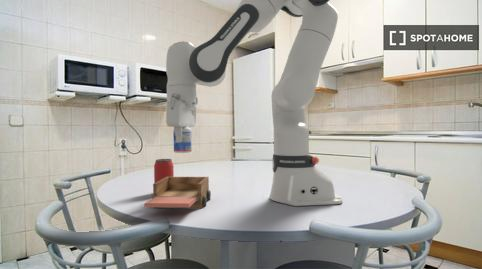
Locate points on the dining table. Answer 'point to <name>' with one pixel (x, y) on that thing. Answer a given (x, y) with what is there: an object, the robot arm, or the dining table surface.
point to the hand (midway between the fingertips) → (182, 141)
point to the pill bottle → (186, 144)
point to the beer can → (163, 169)
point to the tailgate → (171, 201)
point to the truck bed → (184, 189)
